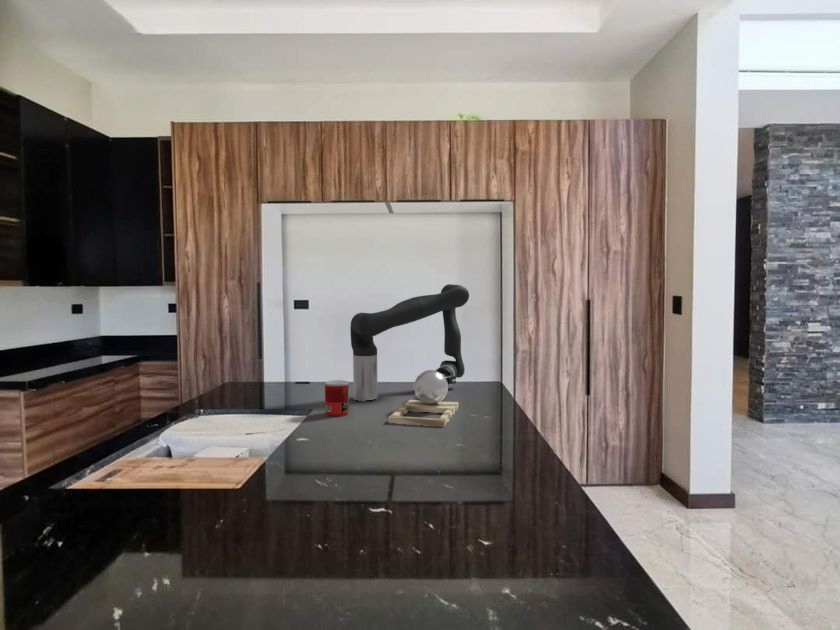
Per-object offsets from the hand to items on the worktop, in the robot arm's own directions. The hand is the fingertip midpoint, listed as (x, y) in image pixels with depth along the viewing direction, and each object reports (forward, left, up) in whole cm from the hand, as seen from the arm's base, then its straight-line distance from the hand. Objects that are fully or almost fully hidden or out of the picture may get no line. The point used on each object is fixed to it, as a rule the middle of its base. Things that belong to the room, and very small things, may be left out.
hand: (435, 383), depth 188 cm
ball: (+5, -5, 0) cm, 7 cm away
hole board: (+10, -10, -8) cm, 17 cm away
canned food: (-7, -35, -8) cm, 37 cm away
